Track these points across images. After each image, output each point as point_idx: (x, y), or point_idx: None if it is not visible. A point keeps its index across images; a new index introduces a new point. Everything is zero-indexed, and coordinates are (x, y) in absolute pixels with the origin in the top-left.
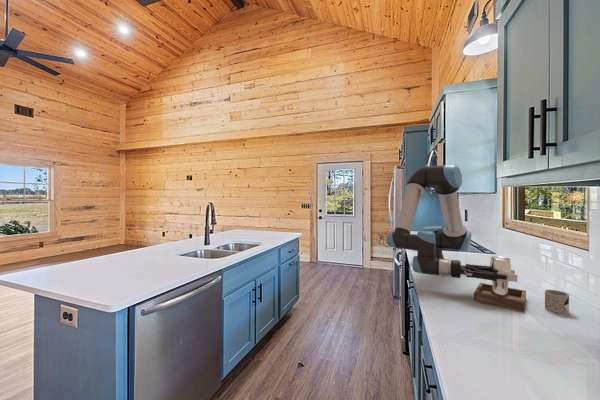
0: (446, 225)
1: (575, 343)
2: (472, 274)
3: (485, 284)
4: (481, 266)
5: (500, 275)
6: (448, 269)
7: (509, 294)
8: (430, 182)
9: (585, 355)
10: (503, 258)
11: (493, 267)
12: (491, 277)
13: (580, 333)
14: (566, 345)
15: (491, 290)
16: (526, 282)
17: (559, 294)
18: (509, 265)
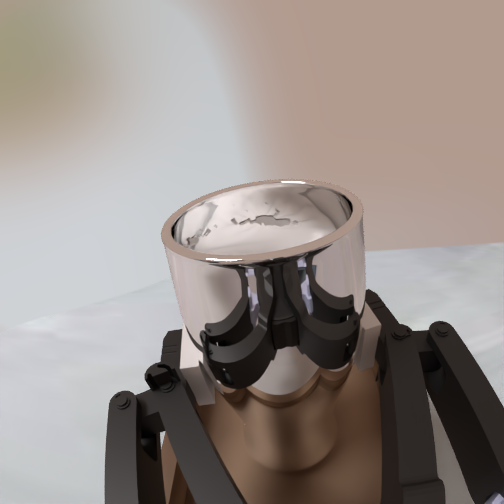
0: None
1: (466, 259)
2: (493, 489)
3: (168, 502)
4: (140, 485)
5: (391, 313)
6: None
7: (200, 410)
8: None
9: (492, 248)
10: (182, 224)
11: (358, 321)
12: (439, 363)
13: (407, 260)
14: (489, 264)
15: (301, 462)
16: (14, 356)
17: None
18: (300, 224)
